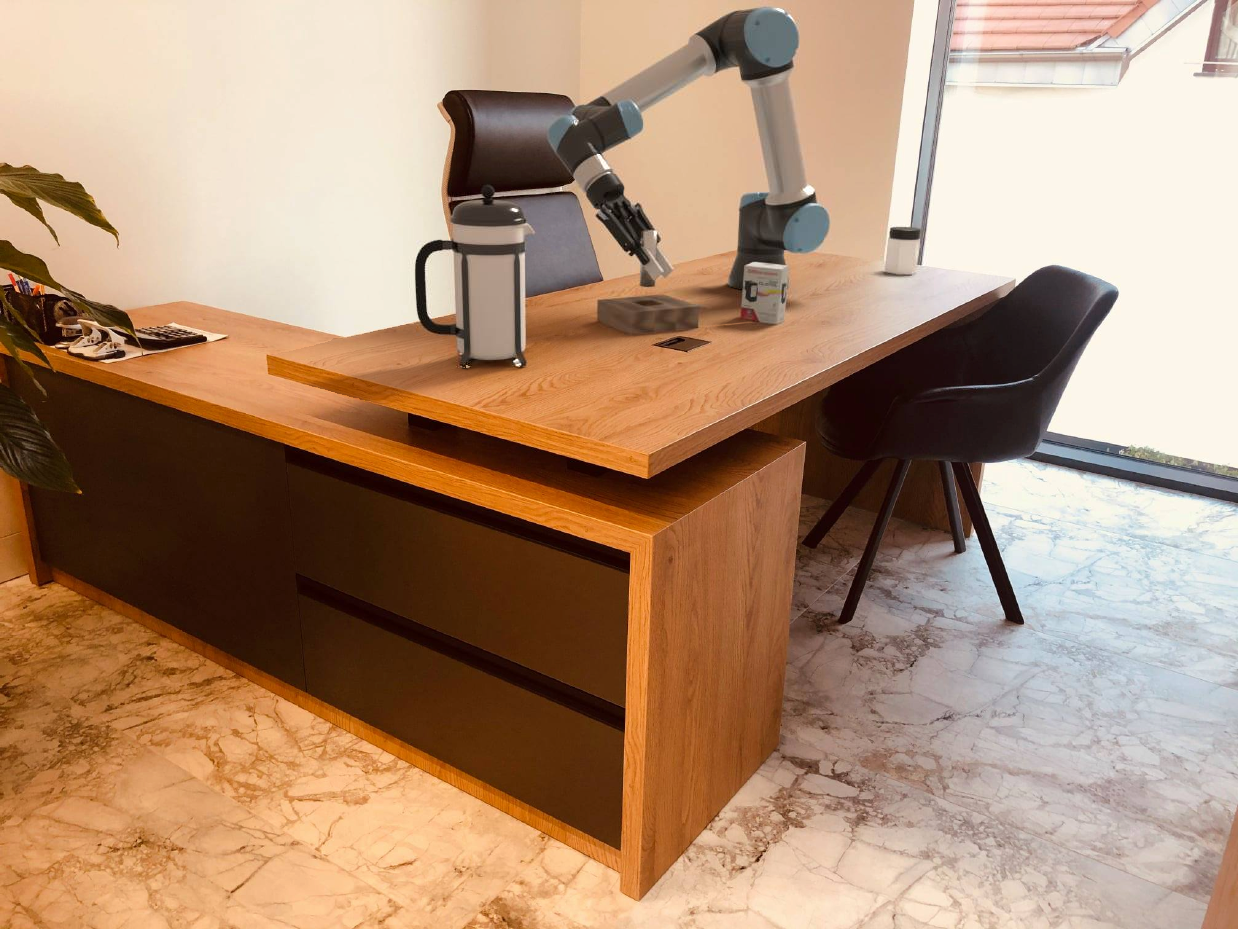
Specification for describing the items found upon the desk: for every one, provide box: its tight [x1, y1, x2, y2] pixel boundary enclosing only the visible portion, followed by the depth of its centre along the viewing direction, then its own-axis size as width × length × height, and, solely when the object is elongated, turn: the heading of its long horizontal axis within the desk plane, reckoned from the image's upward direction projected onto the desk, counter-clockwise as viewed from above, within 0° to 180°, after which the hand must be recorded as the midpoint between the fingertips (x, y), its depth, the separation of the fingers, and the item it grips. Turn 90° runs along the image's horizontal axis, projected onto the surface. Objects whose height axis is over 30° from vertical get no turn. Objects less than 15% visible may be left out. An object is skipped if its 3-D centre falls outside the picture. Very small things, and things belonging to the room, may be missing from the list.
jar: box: [884, 226, 922, 276], centre depth 278 cm, size 9×8×12 cm
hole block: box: [596, 293, 700, 336], centre depth 208 cm, size 16×14×4 cm
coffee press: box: [414, 184, 536, 369], centre depth 172 cm, size 17×16×30 cm
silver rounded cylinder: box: [639, 229, 658, 288], centre depth 204 cm, size 3×3×11 cm
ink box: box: [740, 262, 790, 325], centre depth 213 cm, size 9×5×12 cm, turn 62°
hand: (663, 274), depth 203 cm, fingers closed on silver rounded cylinder, 3 cm apart
